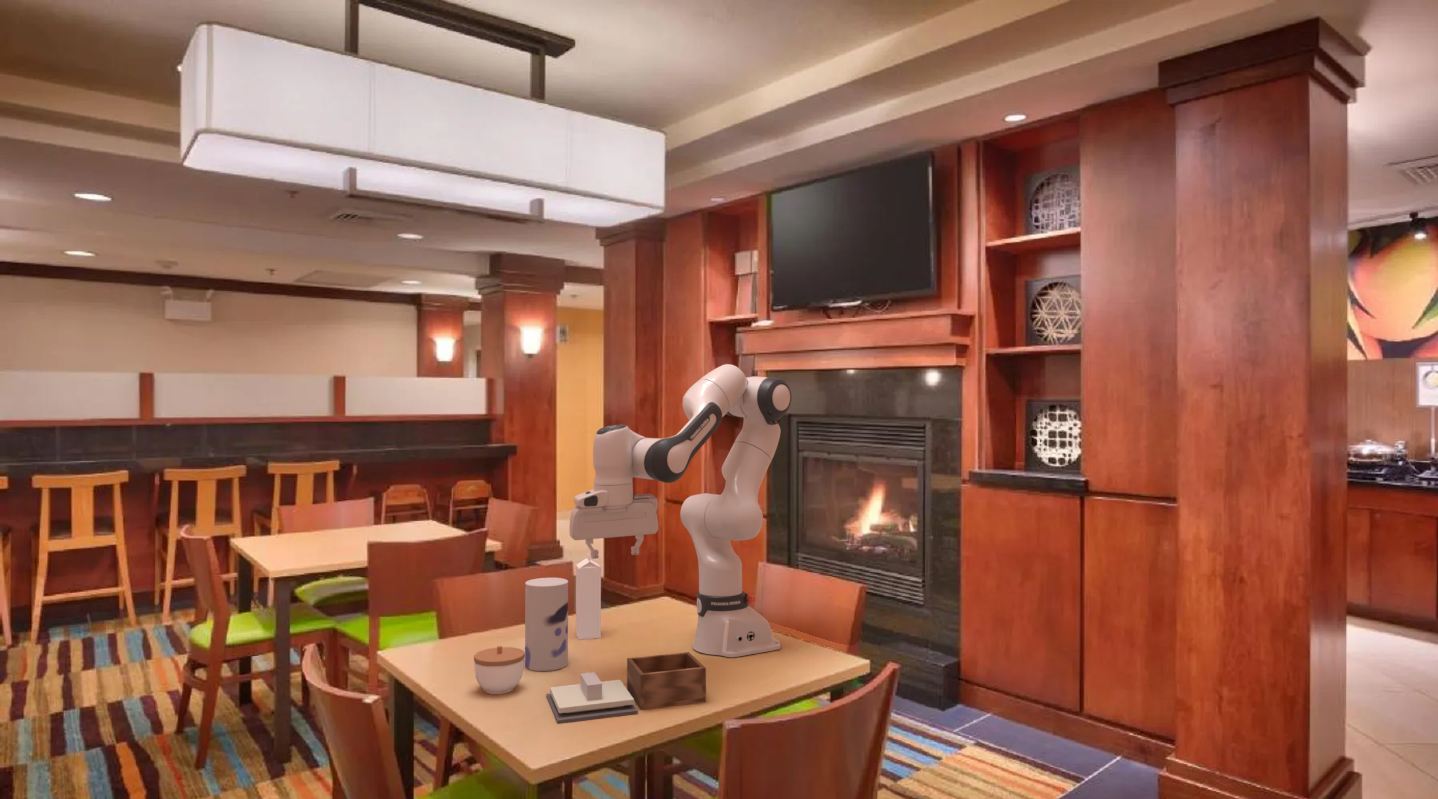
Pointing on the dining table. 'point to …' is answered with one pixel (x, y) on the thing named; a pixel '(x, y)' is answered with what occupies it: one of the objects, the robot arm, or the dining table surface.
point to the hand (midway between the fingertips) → (615, 556)
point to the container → (546, 624)
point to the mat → (590, 712)
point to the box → (666, 680)
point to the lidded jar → (499, 669)
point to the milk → (588, 599)
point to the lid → (590, 695)
